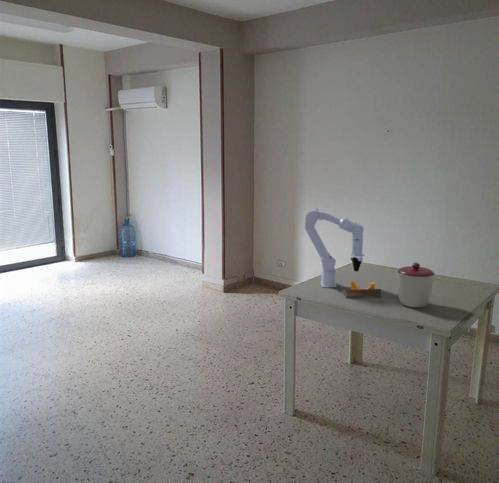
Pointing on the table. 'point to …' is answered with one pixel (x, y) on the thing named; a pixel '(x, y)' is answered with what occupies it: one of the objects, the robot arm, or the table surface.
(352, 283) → the pipe clamp
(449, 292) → the table surface
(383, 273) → the table surface
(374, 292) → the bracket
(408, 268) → the canister
